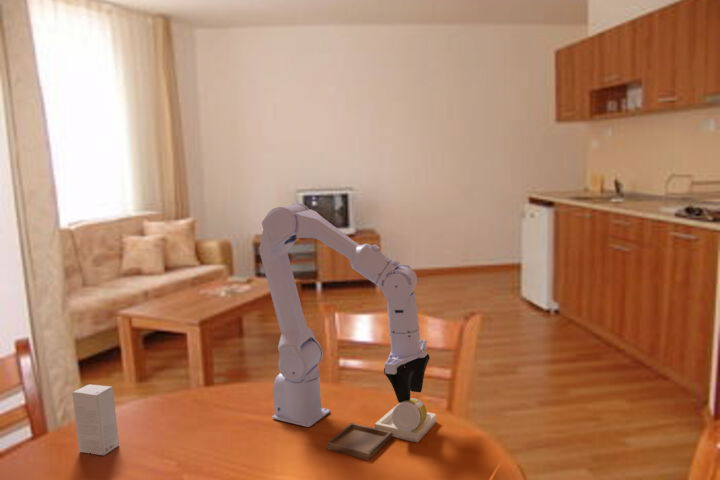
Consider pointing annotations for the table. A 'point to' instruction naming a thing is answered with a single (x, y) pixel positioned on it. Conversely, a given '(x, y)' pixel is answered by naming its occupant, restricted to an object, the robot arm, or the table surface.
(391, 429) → the cream tray
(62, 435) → the table surface
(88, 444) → the skincare box
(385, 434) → the gray square tray
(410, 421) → the supplement bottle
